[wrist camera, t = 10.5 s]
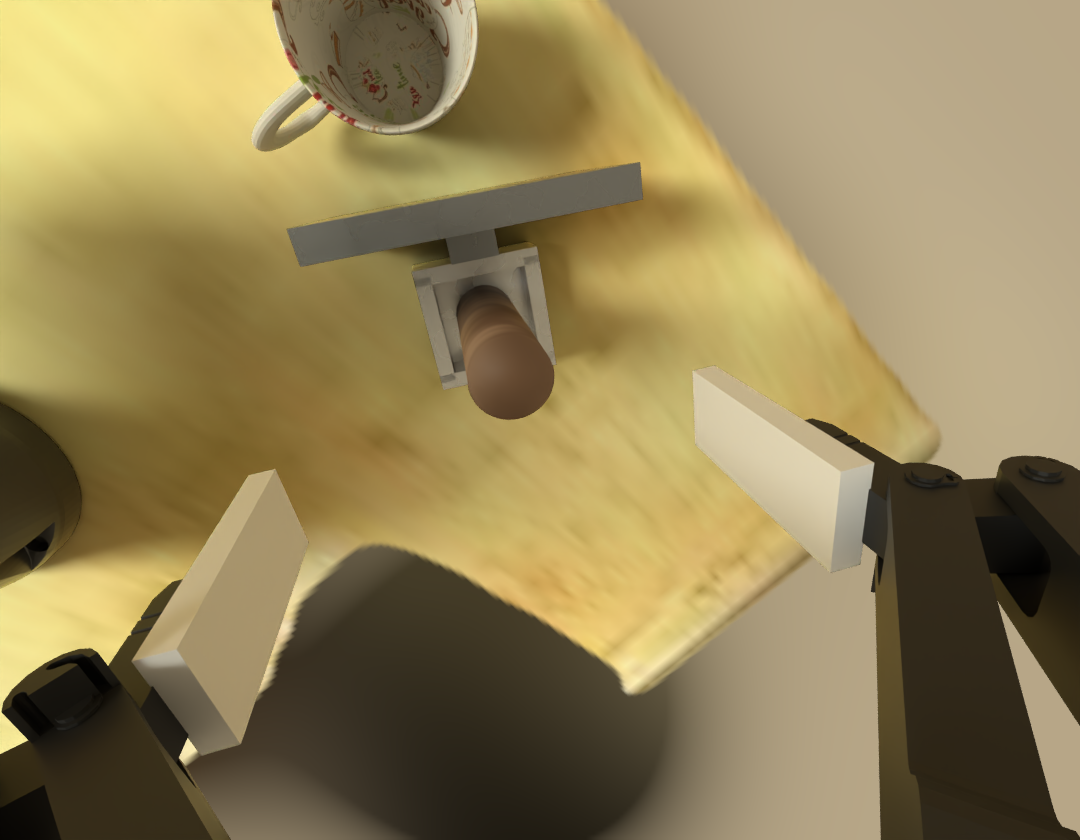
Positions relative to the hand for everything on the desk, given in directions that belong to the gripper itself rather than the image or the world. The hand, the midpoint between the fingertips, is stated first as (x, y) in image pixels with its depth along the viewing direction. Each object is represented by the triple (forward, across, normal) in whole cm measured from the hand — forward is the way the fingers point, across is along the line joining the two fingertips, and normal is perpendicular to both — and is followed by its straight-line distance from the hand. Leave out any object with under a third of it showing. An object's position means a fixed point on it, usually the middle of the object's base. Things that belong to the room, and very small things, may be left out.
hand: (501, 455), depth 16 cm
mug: (+23, -2, +13) cm, 27 cm away
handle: (+22, +2, -1) cm, 22 cm away
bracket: (+23, +2, +1) cm, 23 cm away
